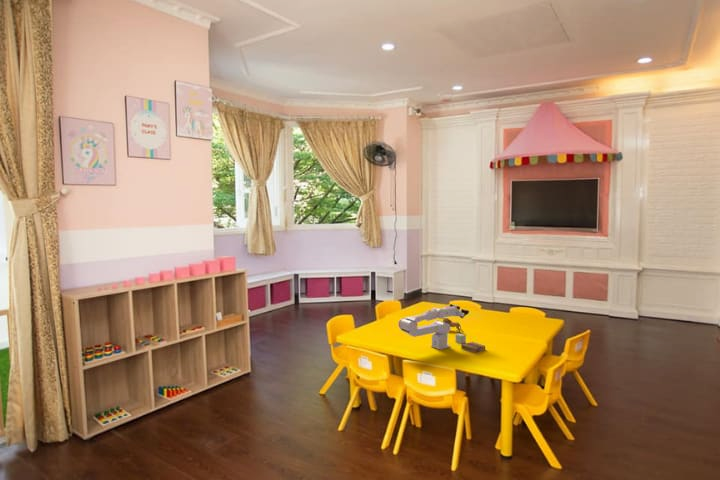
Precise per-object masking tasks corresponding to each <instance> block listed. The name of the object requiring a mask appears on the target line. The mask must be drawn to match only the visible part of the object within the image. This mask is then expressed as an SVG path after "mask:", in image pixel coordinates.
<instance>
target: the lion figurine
mask: <svg viewBox="0 0 720 480" xmlns="http://www.w3.org/2000/svg"><path fill="white" fill-rule="evenodd" d="M442 322H444V323H448V324H449V325H450V328H456V329H457V330H456V332H458V334H460V333H461V332H462V333H464V330H462V327H461V324H460V323H459V322H458V321H452V320H451V319H450V318H449V317H444V318H443V319H442Z"/></svg>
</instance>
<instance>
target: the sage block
mask: <svg viewBox="0 0 720 480" xmlns="http://www.w3.org/2000/svg"><path fill="white" fill-rule="evenodd" d="M466 336H467V335H466V334H463V333H461V332H460V333H456V334H455V343H456V344H460V345H462V344H466V341H467V340H466V339H467V337H466Z"/></svg>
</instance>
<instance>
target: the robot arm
mask: <svg viewBox="0 0 720 480" xmlns="http://www.w3.org/2000/svg"><path fill="white" fill-rule="evenodd" d="M469 313H470V310H466V309H463V308H461V306H459V305H456V304H449V305H446V306H445V307H442V308H441V307H440V308H438V307H433V308H432V309H427V310H426V311H424V312H423V313H422V314H416V315H410V316H405V317H402V318H400V319H399V321H398V328H399V329H400V331H403V332H404V333H406V334H407V335H409V336H411V337H413V338H417V337H421V336H425V335H430V334H432V336H431V345H430V347H433V348H434V349H438V350H445V349H447V348H450V347H451V345H448V334H449V333H450V331H451V327H450V325H449V324H448V323H444V322H443V321H440V320H441V319H442V320H443V319H444V318H450V317H459V318H461V319H464V317H465V316H467V315H469ZM437 319H440V320H437ZM423 321H427V322H429V321H434V322H431V324H428V325H422V326H419V325H418V324H419V323H420V322H423Z"/></svg>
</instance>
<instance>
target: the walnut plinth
mask: <svg viewBox="0 0 720 480" xmlns="http://www.w3.org/2000/svg"><path fill="white" fill-rule="evenodd" d="M460 346H461V348H460V349H462V350H464V351H466V352H469V353H472V354H476V353H479V352H483V351H486V346H485V345H483V344H481V343H477V342H476V341H475V342H474V341H471V342H467V343H462V344H460Z"/></svg>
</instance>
